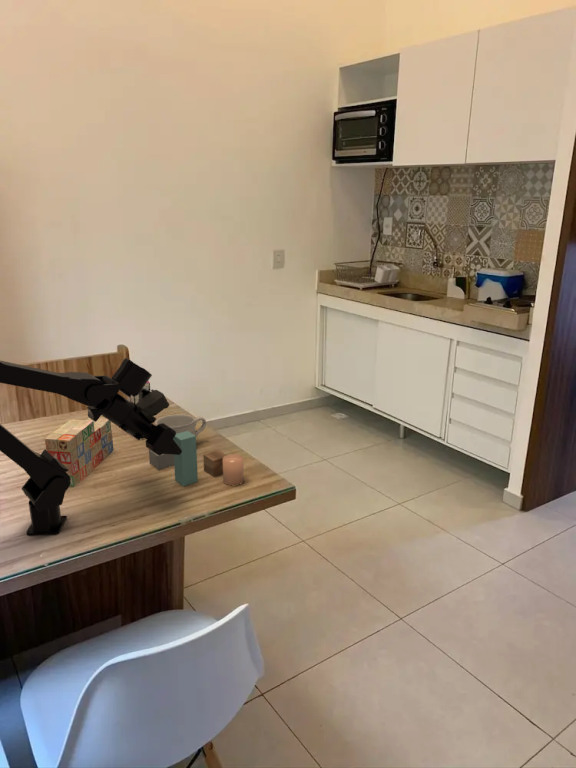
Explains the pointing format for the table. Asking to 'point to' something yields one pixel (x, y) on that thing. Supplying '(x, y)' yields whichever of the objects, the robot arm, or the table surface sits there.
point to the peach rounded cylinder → (233, 469)
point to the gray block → (161, 460)
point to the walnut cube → (214, 463)
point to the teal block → (186, 459)
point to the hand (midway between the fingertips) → (170, 446)
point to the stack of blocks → (81, 446)
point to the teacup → (182, 423)
